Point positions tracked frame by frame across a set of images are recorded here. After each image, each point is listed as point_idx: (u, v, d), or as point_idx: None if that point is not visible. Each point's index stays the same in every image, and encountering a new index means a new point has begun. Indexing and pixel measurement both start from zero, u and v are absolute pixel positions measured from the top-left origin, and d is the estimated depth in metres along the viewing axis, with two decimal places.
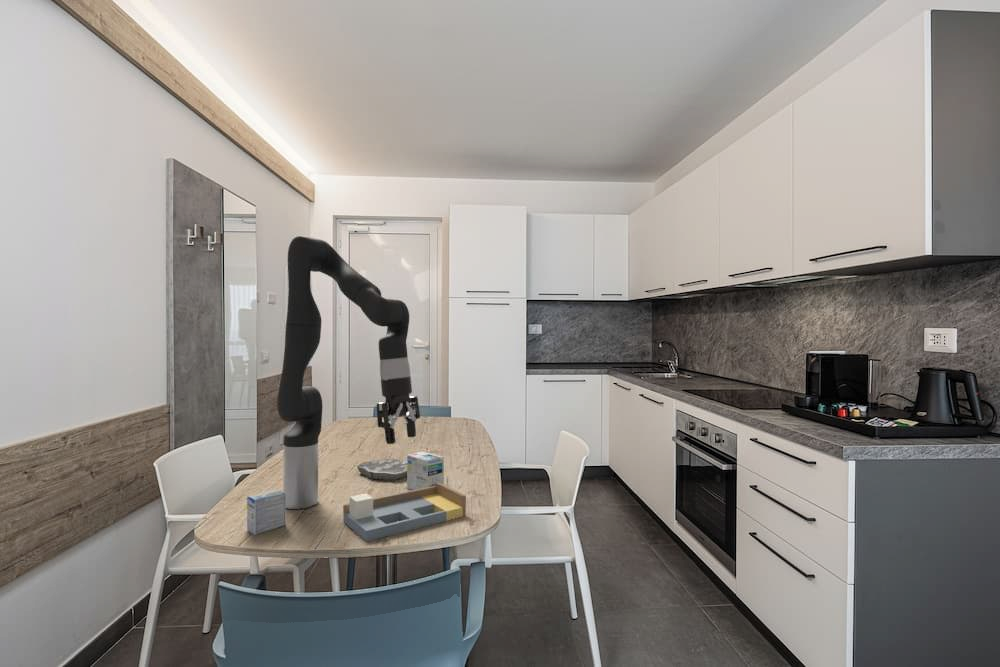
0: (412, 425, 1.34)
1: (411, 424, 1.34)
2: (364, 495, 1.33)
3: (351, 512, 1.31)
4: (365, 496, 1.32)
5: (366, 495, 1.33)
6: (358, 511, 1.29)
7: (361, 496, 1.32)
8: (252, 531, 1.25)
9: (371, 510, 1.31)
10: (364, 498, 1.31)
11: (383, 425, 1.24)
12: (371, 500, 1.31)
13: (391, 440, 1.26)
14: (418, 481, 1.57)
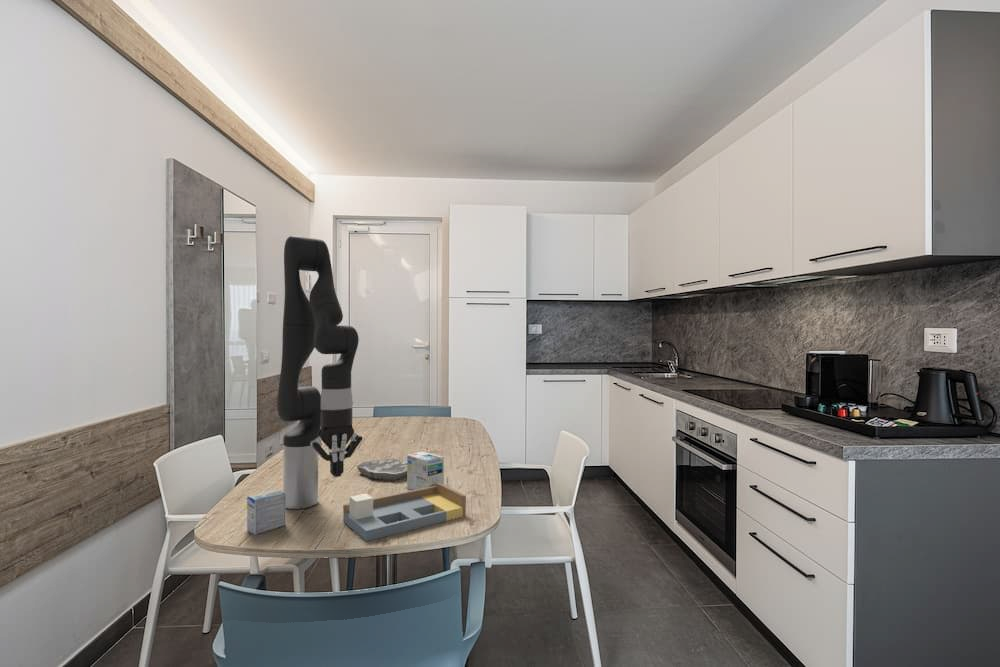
0: (338, 464, 1.27)
1: (337, 463, 1.27)
2: (364, 495, 1.33)
3: (351, 512, 1.31)
4: (365, 496, 1.32)
5: (366, 495, 1.33)
6: (358, 511, 1.29)
7: (361, 496, 1.32)
8: (252, 531, 1.25)
9: (371, 510, 1.31)
10: (364, 498, 1.31)
11: (324, 458, 1.25)
12: (371, 500, 1.31)
13: (333, 473, 1.26)
14: (418, 481, 1.57)
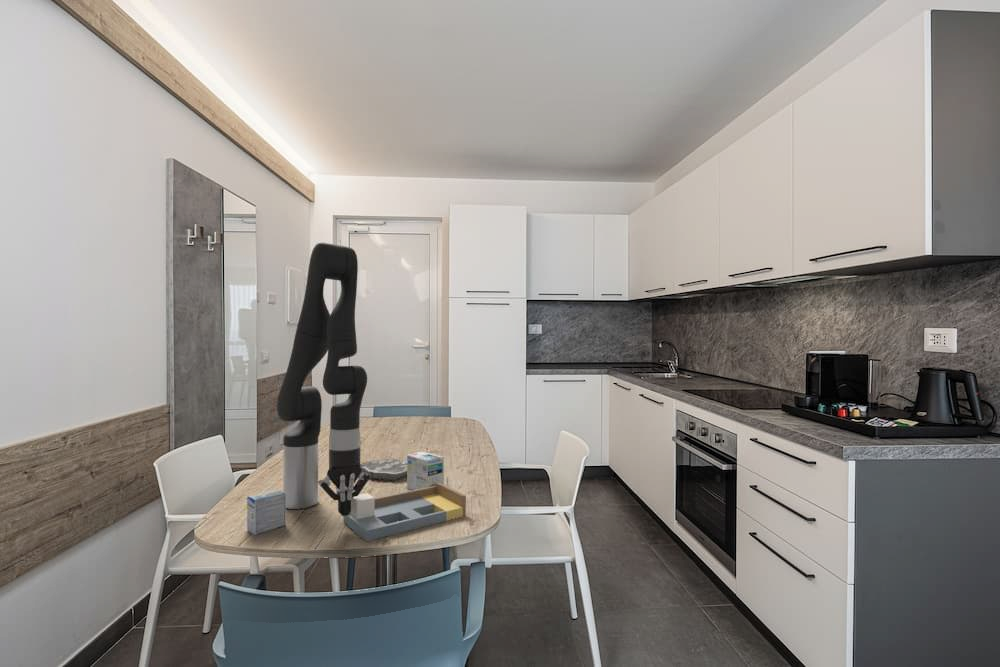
0: (345, 503, 1.28)
1: None
2: (365, 495, 1.33)
3: (352, 512, 1.31)
4: (367, 495, 1.33)
5: (367, 495, 1.33)
6: (359, 510, 1.29)
7: (362, 496, 1.32)
8: (252, 531, 1.25)
9: (372, 510, 1.31)
10: (366, 497, 1.31)
11: None
12: (373, 500, 1.31)
13: (341, 512, 1.28)
14: (418, 481, 1.57)
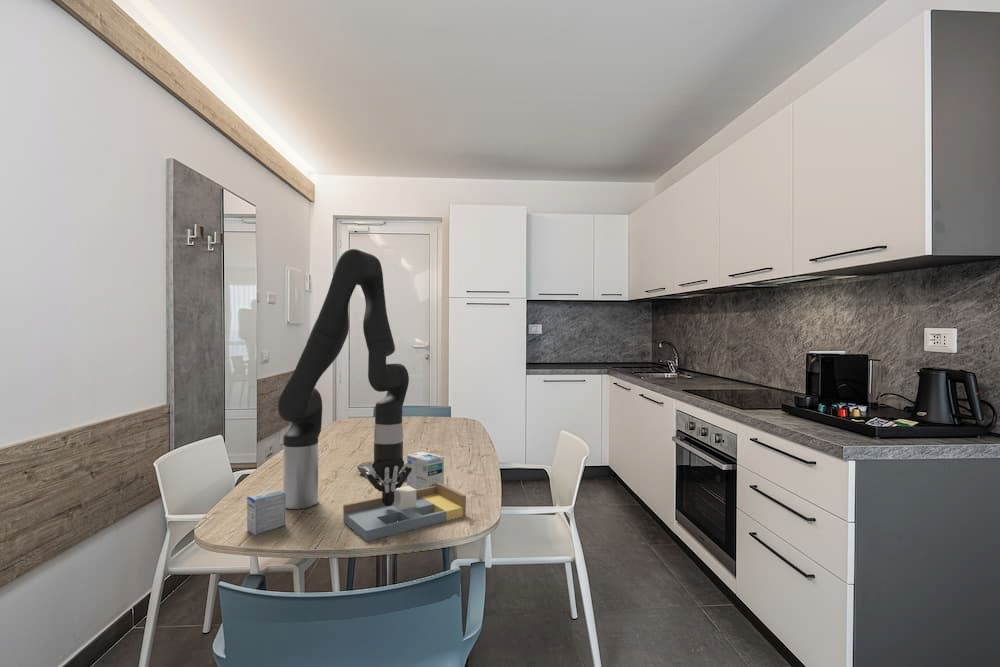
0: (389, 494, 1.35)
1: None
2: (407, 487, 1.40)
3: (395, 503, 1.38)
4: (408, 488, 1.39)
5: (409, 487, 1.40)
6: (402, 502, 1.35)
7: (404, 488, 1.39)
8: (252, 531, 1.25)
9: (414, 501, 1.37)
10: (408, 489, 1.38)
11: None
12: (415, 492, 1.37)
13: (385, 503, 1.34)
14: (418, 481, 1.57)
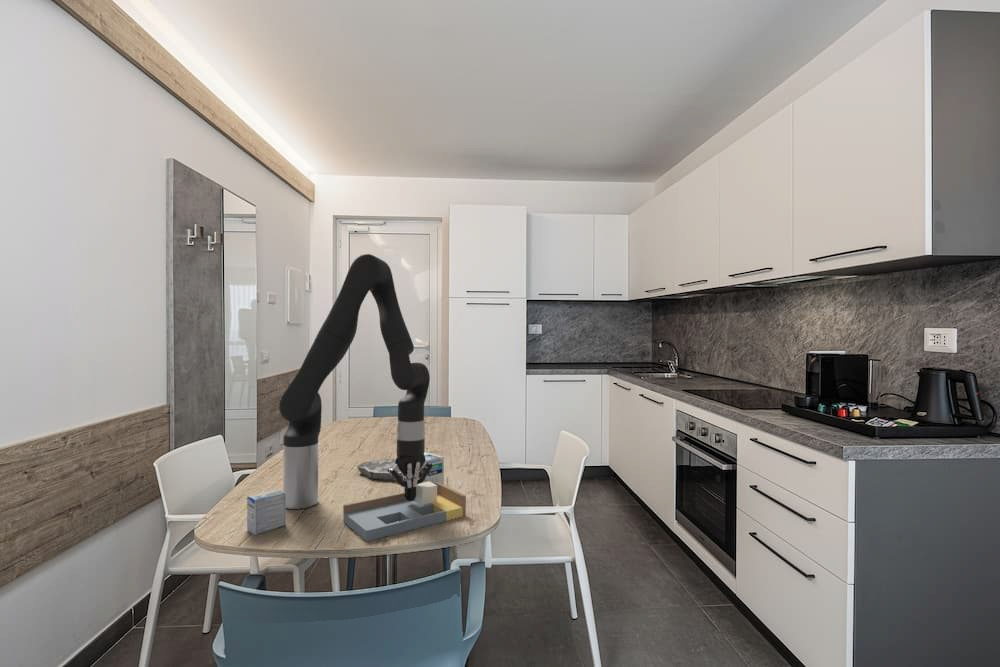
0: (411, 489, 1.39)
1: None
2: (428, 483, 1.44)
3: (417, 498, 1.42)
4: (429, 483, 1.43)
5: (430, 483, 1.44)
6: (424, 497, 1.39)
7: (425, 484, 1.43)
8: (252, 531, 1.25)
9: (435, 496, 1.42)
10: (429, 485, 1.42)
11: (400, 484, 1.37)
12: (436, 487, 1.42)
13: (408, 498, 1.38)
14: None
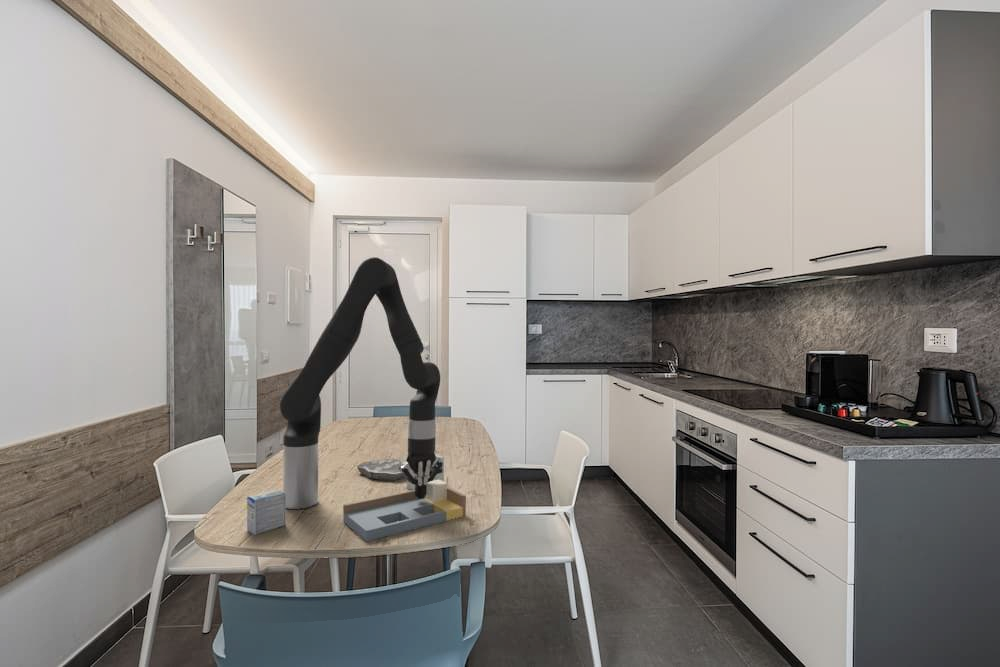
0: (422, 487, 1.41)
1: None
2: (438, 481, 1.46)
3: (427, 496, 1.44)
4: (439, 481, 1.45)
5: (440, 481, 1.46)
6: (434, 494, 1.42)
7: (435, 482, 1.45)
8: (252, 531, 1.25)
9: (445, 494, 1.44)
10: (439, 483, 1.44)
11: (411, 482, 1.39)
12: (446, 485, 1.44)
13: (418, 496, 1.40)
14: None
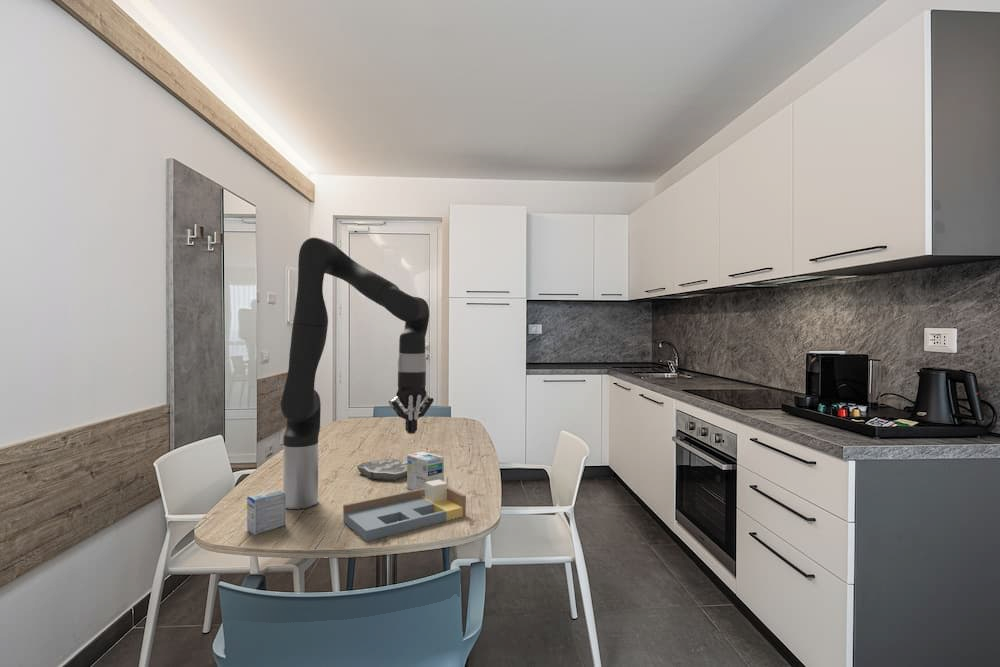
0: (412, 422, 1.40)
1: None
2: (438, 481, 1.46)
3: (427, 496, 1.44)
4: (439, 481, 1.45)
5: (439, 481, 1.46)
6: (434, 494, 1.42)
7: (435, 482, 1.45)
8: (252, 531, 1.25)
9: (445, 494, 1.44)
10: (439, 483, 1.44)
11: (401, 416, 1.38)
12: (446, 485, 1.44)
13: (409, 430, 1.39)
14: (418, 481, 1.57)
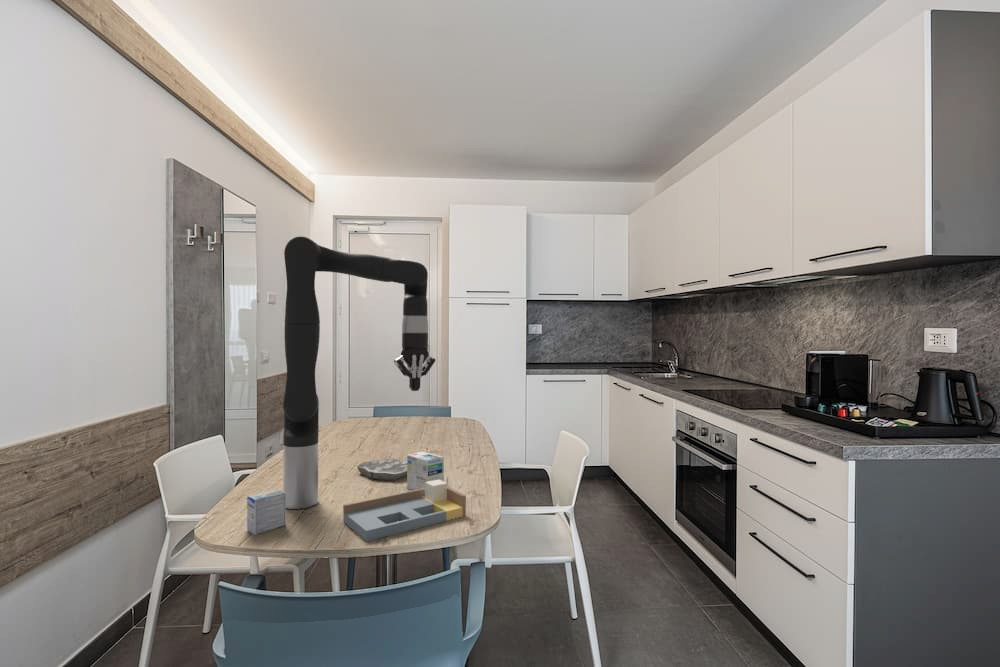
0: (416, 380, 1.50)
1: None
2: (438, 481, 1.46)
3: (427, 496, 1.44)
4: (439, 481, 1.45)
5: (439, 481, 1.46)
6: (434, 494, 1.42)
7: (435, 482, 1.45)
8: (252, 531, 1.25)
9: (445, 494, 1.44)
10: (439, 483, 1.44)
11: (405, 374, 1.48)
12: (446, 485, 1.44)
13: (413, 388, 1.49)
14: (418, 481, 1.57)
